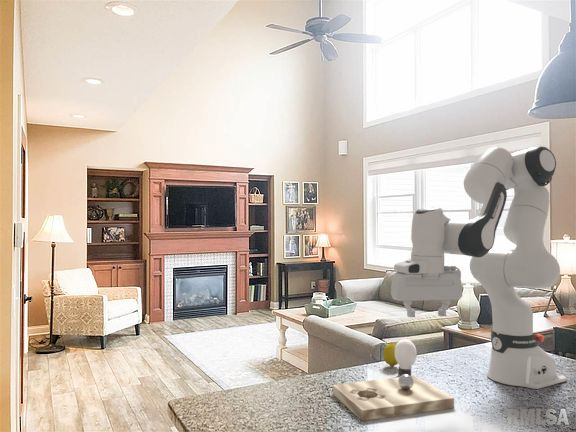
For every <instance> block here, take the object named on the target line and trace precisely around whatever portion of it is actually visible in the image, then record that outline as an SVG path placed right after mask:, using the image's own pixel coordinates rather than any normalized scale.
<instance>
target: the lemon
mask: <svg viewBox="0 0 576 432" xmlns="http://www.w3.org/2000/svg"><path fill="white" fill-rule="evenodd" d="M396 344H397V343H394V342H392V341H391V342H390V343H388V344H386V346H385V347H384V348H383V349H384V350H383V359H384V362H385V363H386V364H388V366H390V367H391V368H393V367H395V366H397V365H399V364H398V363H397V361H396V359H395V354H394V351H395V346H396Z"/></svg>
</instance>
